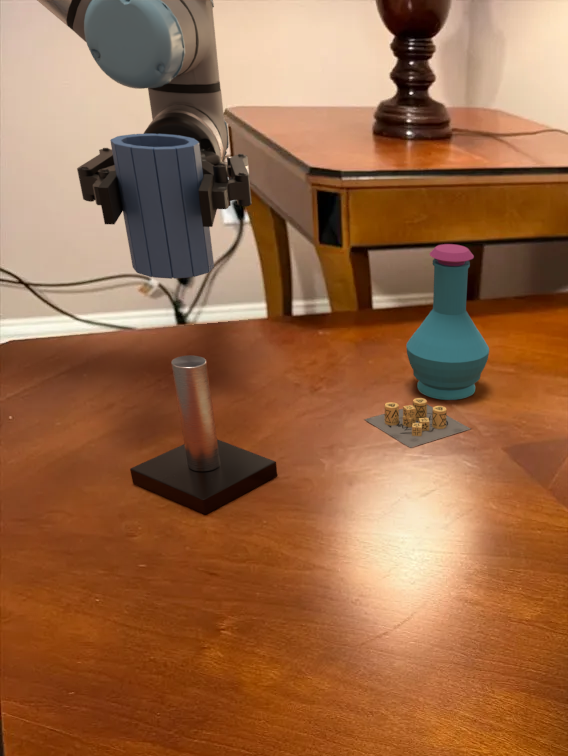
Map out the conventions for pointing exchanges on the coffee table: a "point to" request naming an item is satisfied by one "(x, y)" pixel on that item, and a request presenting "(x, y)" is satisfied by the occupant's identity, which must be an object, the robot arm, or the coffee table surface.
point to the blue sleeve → (163, 204)
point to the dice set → (416, 422)
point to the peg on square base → (201, 451)
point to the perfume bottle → (448, 332)
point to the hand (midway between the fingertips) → (156, 207)
